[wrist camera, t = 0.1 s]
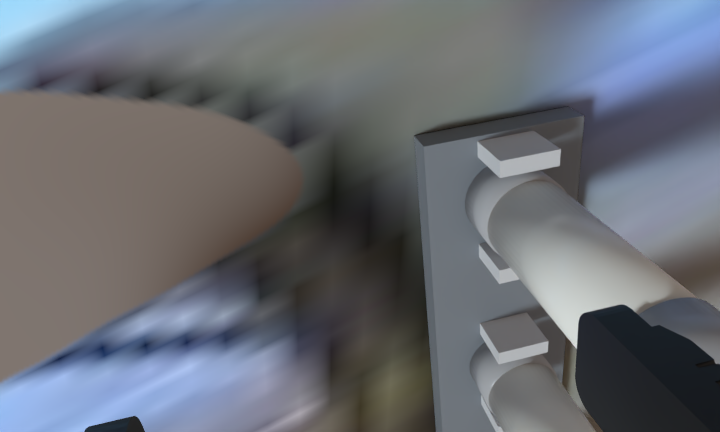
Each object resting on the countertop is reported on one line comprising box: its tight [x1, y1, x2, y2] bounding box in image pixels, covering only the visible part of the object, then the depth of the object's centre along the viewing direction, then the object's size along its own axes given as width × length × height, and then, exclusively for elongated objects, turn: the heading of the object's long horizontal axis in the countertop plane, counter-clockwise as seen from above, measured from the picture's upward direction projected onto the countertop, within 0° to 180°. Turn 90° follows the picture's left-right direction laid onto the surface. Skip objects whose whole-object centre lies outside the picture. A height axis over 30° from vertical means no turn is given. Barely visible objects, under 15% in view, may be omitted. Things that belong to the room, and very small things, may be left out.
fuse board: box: [414, 107, 584, 432], centre depth 32 cm, size 29×8×4 cm, turn 7°
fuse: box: [465, 166, 720, 364], centre depth 21 cm, size 4×4×14 cm
